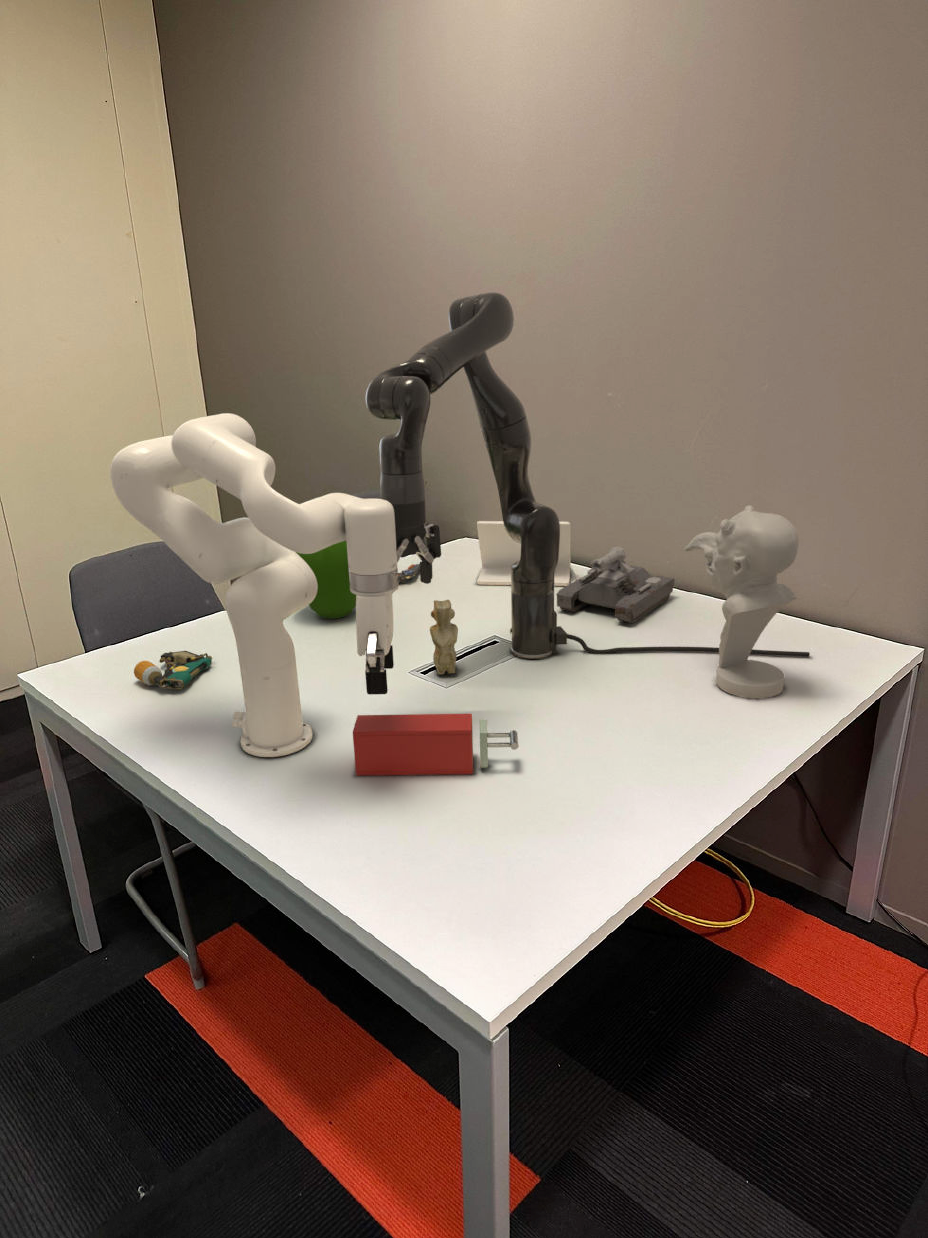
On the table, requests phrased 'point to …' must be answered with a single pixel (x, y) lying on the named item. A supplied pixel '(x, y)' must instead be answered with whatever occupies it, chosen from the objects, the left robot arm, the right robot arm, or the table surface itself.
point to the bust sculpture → (748, 593)
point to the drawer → (485, 745)
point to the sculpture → (444, 637)
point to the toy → (616, 588)
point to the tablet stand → (514, 554)
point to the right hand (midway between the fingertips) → (407, 588)
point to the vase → (331, 581)
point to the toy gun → (409, 572)
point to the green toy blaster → (172, 669)
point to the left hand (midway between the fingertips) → (380, 680)
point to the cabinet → (413, 744)
